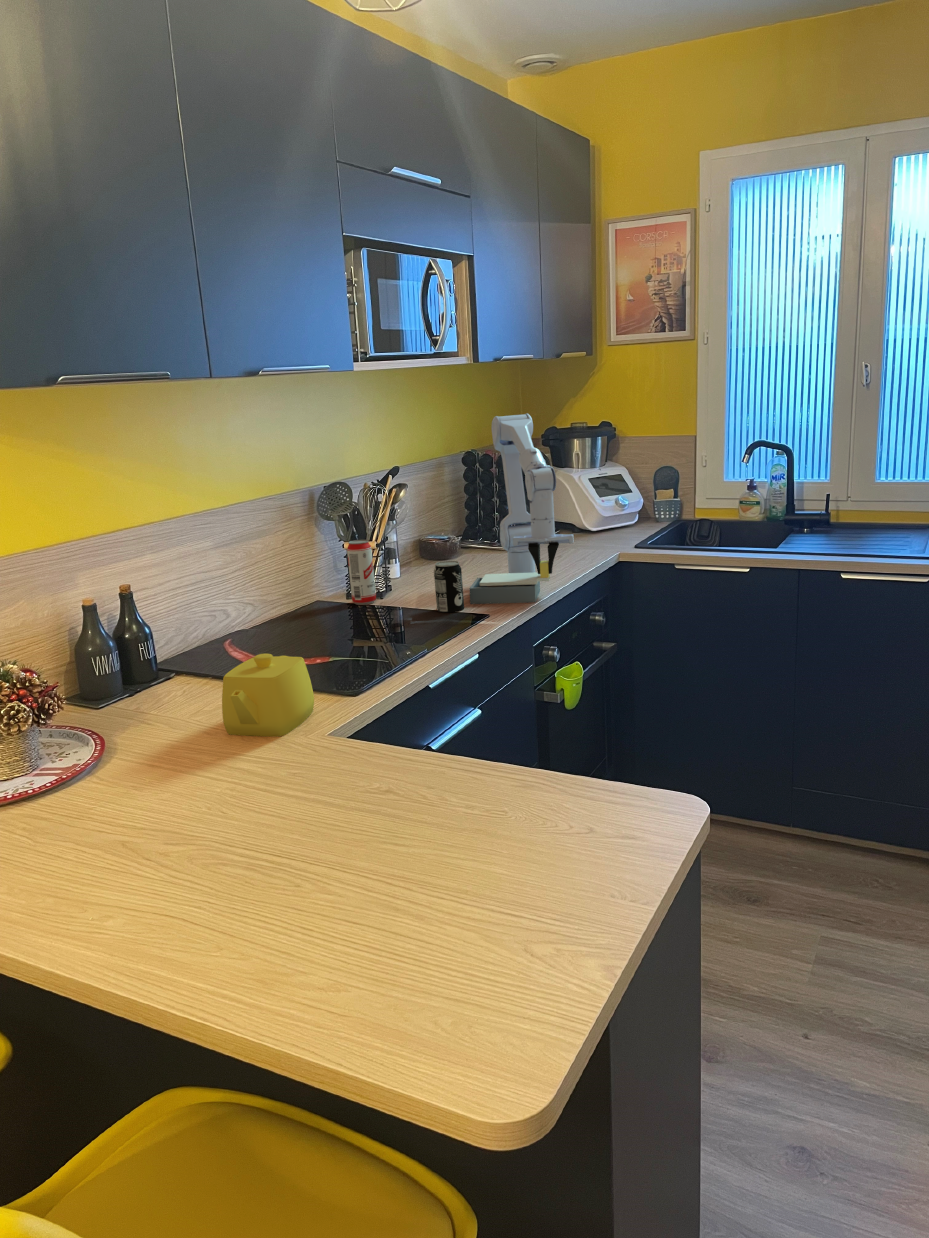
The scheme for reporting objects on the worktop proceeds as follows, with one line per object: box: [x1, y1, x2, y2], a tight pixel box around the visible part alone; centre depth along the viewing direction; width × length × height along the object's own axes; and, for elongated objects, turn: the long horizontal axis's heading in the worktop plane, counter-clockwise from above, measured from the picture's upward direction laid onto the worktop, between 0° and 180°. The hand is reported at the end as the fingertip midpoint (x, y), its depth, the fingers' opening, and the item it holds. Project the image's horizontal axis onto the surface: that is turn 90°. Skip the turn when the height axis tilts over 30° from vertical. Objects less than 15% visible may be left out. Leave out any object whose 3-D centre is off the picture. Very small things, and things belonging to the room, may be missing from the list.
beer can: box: [346, 539, 377, 606], centre depth 232 cm, size 6×6×16 cm
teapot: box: [221, 653, 315, 738], centre depth 150 cm, size 20×12×12 cm, turn 165°
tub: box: [468, 577, 541, 605], centre depth 225 cm, size 12×16×4 cm
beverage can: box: [433, 560, 465, 614], centre depth 216 cm, size 7×7×12 cm
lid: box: [480, 560, 551, 586], centre depth 224 cm, size 10×17×4 cm, turn 80°
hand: (545, 573), depth 222 cm, fingers closed on lid, 2 cm apart
